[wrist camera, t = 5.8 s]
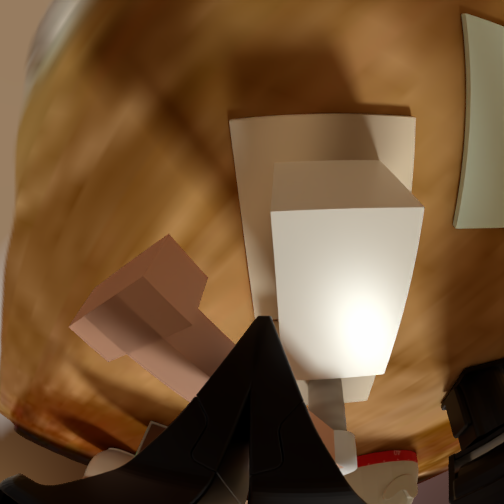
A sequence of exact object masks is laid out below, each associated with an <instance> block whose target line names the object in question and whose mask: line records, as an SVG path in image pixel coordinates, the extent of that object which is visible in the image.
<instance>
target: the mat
mask: <svg viewBox="0 0 504 504" xmlns="http://www.w3.org/2000/svg"><path fill="white" fill-rule="evenodd" d="M461 17H462V25H463V34H464V45H465V60H466V123H465V139H464V151H463V161H462V170H461V178H460V185H459V192H458V198H457V204H456V210H455V216H454V221H453V226H454V227H455V228H456V229H463V228H504V26H501V25H498V24H496V23H493V22H490V21H487V20H485V19H482V18H479V17H476V16H473V15H469V14H466V13H464V14H461Z"/></svg>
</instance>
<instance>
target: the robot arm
mask: <svg viewBox="0 0 504 504" xmlns="http://www.w3.org/2000/svg"><path fill="white" fill-rule="evenodd" d="M196 396H197V397H194V398H193V399H192V400H191V402H190V403H189V404H188V405H187V407H186V408H185V409H184V410H183V411H182V412H181V413H180V415H179V416H178V417H177V418H176V419H175V420H174V421H173V422H172V423H171V424H170V425H169V426H168V427H167V428H166V429H165V430H164V431H163V432H162V433H161V434H159V435H158V436H157V437H156V438H155V439H154V440H153V441H152V442H151V443H150V444H149V445H147V446H146V447H145V448H144V449H143V450H142V451H141V452H140V453H138V454H137V455H136V456H135V457H134V458H133V459H131V460H130V461H129V462H127V463H126V464H124V465H122V466H121V467H118V468H116V469H114V470H111V471H108V472H104V473H101V474H98V475H94V476H91V477H87V478H83V479H80V480H76V481H72V482H68V483H64V484H59V485H41V484H38V483H36V482H34V481H33V480H31V479H29V478H28V477H26V476H24V475H23V474H17V475H14V476H11V477H9V478H7V479H5V480H3V481H2V482H1V483H0V504H245V502H246V498H247V494H248V490H249V495H248V504H367V503H366V502H365V501H364V500H363V499H362V498H361V497H360V496H359V495H358V494H357V493H356V492H355V491H354V490H353V488H352V487H351V486H350V484H349V483H348V482H347V480H346V479H345V477H344V476H343V474H342V472H341V471H340V469H339V467H338V466H337V464H336V463H335V461H334V459H333V458H332V456H331V454H330V453H329V451H328V449H327V448H326V446H325V444H324V443H323V441H322V439H321V437H320V435H319V433H318V432H317V430H316V428H315V426H314V423H313V421H312V419H311V417H310V414H309V412H308V410H307V407H306V404H305V402H304V400H303V397H302V395H301V392H300V389H299V387H298V384H297V382H296V379H295V377H294V374H293V372H292V369H291V366H290V364H289V361H288V359H287V356H286V354H285V351H284V349H283V346H282V343H281V341H280V338H279V336H278V333H277V331H276V328H275V325H274V323H273V320H272V317H271V316H257V317H256V319H255V320H254V321H253V323H252V324H251V325H250V327H249V328H248V329H247V331H246V332H245V333H244V335H243V336H242V337H241V338H240V340H239V341H238V342H237V344H236V345H235V346H234V348H233V349H232V350H231V351H230V353H229V354H228V355H227V357H226V358H225V359H224V360H223V362H222V363H221V364H220V366H219V367H218V368H217V369H216V371H215V372H214V373H213V374H212V376H211V377H210V378H209V379H208V381H207V382H206V383H205V384H204V386H203V387H202V388H201V389H200V391H199V392H198V393H197V394H196ZM441 408H442V410H447V414H448V417H449V421H450V425H451V429H452V432H453V436H454V437H455V438H458V439H459V443H460V447H461V451H460V452H458V453H456V454H452V455H451V456H449V465H448V467H449V503H450V504H504V359H502V360H498V361H494V362H490V363H486V364H482V365H478V366H474V367H469V368H467V369H465V370H464V371H463V372H462V374H461V375H460V377H459V379H458V380H457V382H456V383H455V385H454V387H453V388H452V390H451V391H450V393H449V394H448V396H447V398H446V399H445V401H444V402H443V403H442V405H441Z"/></svg>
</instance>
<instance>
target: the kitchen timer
mask: <svg viewBox="0 0 504 504" xmlns="http://www.w3.org/2000/svg"><path fill="white" fill-rule="evenodd" d="M343 476H344V477H345V479H346V480H347V482H348V483H349V484H350V486H351V487H352V488H353V490H354V491H355V492H356V493H357V494H358V495H359V496H360V497H361V498H362V499H363V500H364V501H365V502H366V503H367V504H411V503H412V501H413V498H414V497H415V496H416V495H417V492H418V487H417V479H418V463H417V457H416V453H415V452H413V451H409V450H390V451H383V452H376V453H371V454H366V455H361V456H357V469H356V470H355V471H353V472H351V473H349V474H346V475H343Z"/></svg>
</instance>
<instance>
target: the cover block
mask: <svg viewBox="0 0 504 504" xmlns="http://www.w3.org/2000/svg"><path fill="white" fill-rule="evenodd" d="M270 212H271V224H272V237H273V249H274V262H275V275H276V289H277V303H278V317H279V332H280V341H281V343H282V346H283V349H284V351H285V354H286V356H287V359H288V361H289V364H290V366H291V369H292V372H293V374H294V377H295V379H296V380H318V379H335V378H349V377H360V376H371V375H380V374H384V372H385V369H386V367H387V364H388V361H389V358H390V355H391V352H392V348H393V345H394V342H395V339H396V335H397V332H398V329H399V325H400V322H401V318H402V314H403V311H404V307H405V303H406V299H407V295H408V291H409V287H410V283H411V278H412V274H413V269H414V265H415V260H416V255H417V250H418V244H419V239H420V233H421V227H422V221H423V214H424V206H423V205H422V204H421V203H420V202H419V201H418V200H417V199H416V197H415V196H414V195H413V194H412V193H411V192H410V191H409V190H408V189H407V188H406V187H405V186H404V185H403V184H402V183H401V181H400V180H399V179H398V178H397V177H396V176H395V175H394V174H393V173H392V172H391V171H390V170H389V169H388V168H387V167H386V166H385V165H384V164H383V163H382V162H381V161H380V160H326V161H297V162H277V163H274V173H273V186H272V199H271V211H270Z"/></svg>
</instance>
